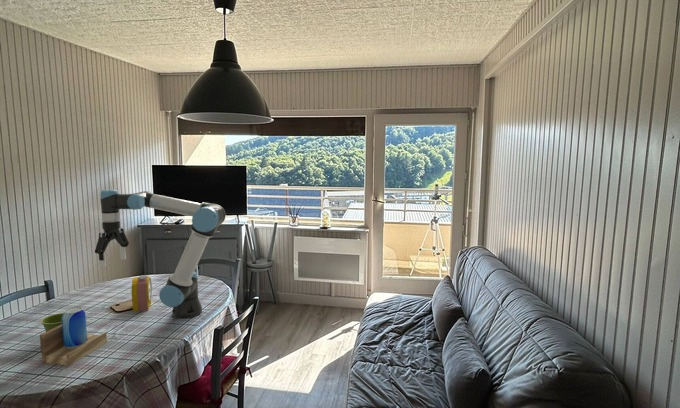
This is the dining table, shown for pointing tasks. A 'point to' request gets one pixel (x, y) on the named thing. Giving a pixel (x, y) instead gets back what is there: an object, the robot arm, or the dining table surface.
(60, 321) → the plant pot
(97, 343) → the cleat board
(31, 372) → the dining table surface
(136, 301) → the alarm clock
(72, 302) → the dining table surface
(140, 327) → the dining table surface
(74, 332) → the beer can
